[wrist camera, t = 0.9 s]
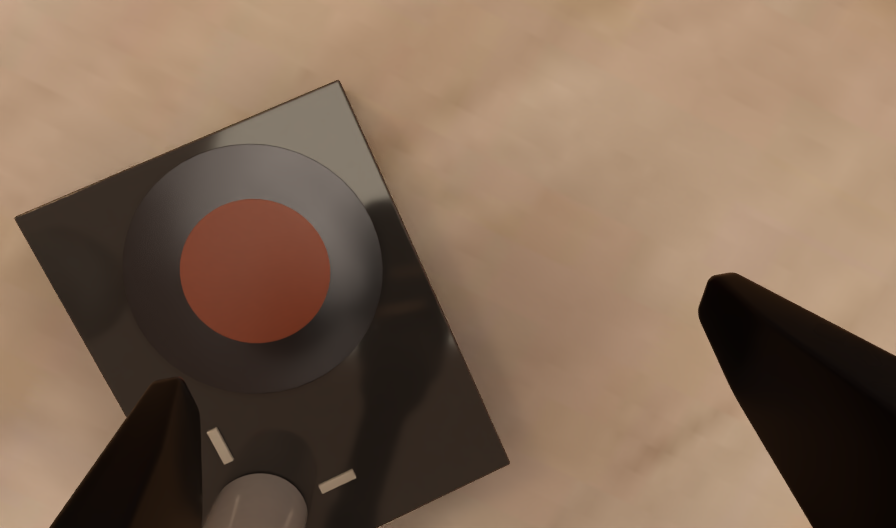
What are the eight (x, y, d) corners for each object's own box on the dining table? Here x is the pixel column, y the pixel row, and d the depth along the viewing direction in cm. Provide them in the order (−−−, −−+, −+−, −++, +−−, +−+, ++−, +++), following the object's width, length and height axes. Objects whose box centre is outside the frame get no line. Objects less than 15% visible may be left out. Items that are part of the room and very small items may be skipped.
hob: (512, 470, 26) (525, 495, 24) (223, 609, 25) (209, 648, 23) (341, 87, 23) (338, 77, 21) (7, 229, 22) (-31, 234, 20)
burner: (421, 329, 23) (422, 331, 23) (198, 432, 22) (196, 434, 22) (318, 103, 21) (318, 102, 21) (75, 207, 21) (72, 207, 20)
